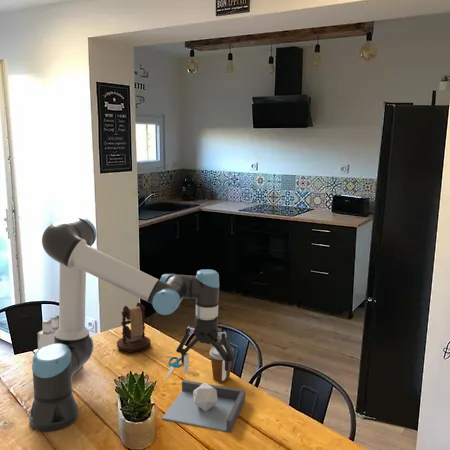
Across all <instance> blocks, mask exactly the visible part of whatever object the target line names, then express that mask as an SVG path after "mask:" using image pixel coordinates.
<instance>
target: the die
mask: <svg viewBox="0 0 450 450" xmlns="http://www.w3.org/2000/svg"><path fill="white" fill-rule="evenodd" d="M202 383H203V384H202V385H200V386H199V387H198V388H197V389H195V390H194V391H193V397H194V404H196V405H197V406H198V407H200V408H201V409H203V410H204V411H207V410H209V409H210V408H211V407H213V406H214V405H215V404H216V403H218V398H217V390H216V389H214V388H213V387H211V386H210V385H209V384H210V383H207V382H202Z"/></svg>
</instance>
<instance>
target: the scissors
mask: <svg viewBox="0 0 450 450" xmlns="http://www.w3.org/2000/svg"><path fill="white" fill-rule="evenodd" d="M181 358H182V357H177V356H172V357H170V358H169V360H168V367H169V370H168V372H167V374H166V376H165V377H164V380H163V382H165V381H166V379H167V378H168V377H169V376H170V375H171V374H172V373H173V371H174V368H180V367H182V366H184V363H182V362H181V363H179V361H181ZM173 359H175V361H174V362H171V361H172V360H173Z"/></svg>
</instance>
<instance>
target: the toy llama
mask: <svg viewBox="0 0 450 450" xmlns="http://www.w3.org/2000/svg"><path fill="white" fill-rule="evenodd" d="M41 325H42V330H40V331H38V332H37V351H38V350H39V349H40V348H42V347H44V346H48V345H50V344H54V333H55V331H56V330H57V329H58V328H59V315H55V314H54V315H52V316H50V317H49V319H45V320H43V321H42V323H41Z"/></svg>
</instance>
